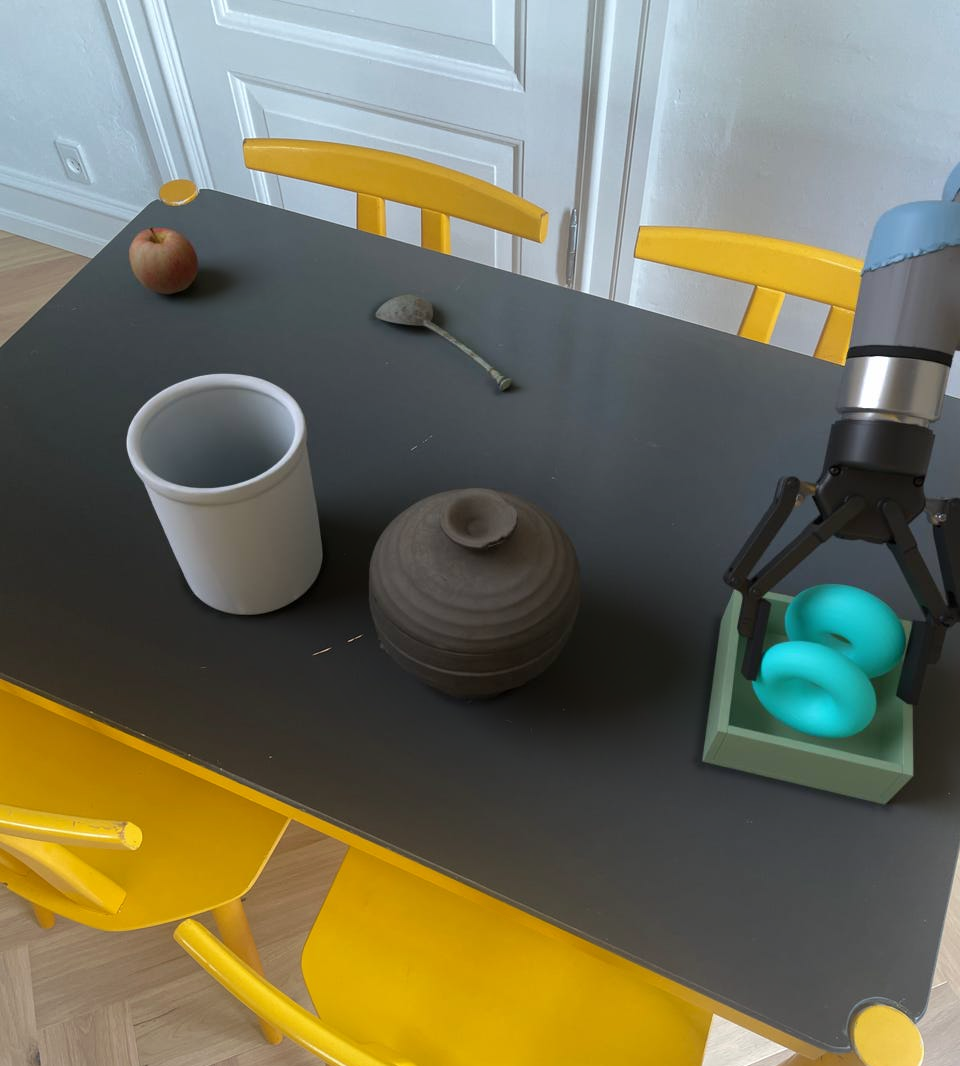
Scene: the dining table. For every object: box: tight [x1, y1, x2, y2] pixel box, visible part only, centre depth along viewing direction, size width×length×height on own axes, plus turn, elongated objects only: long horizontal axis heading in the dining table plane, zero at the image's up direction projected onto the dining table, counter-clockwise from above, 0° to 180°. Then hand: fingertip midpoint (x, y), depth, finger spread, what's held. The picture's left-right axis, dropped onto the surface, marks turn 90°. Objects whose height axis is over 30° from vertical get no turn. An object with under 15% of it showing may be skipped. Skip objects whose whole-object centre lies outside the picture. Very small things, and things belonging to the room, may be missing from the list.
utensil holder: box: [126, 373, 323, 616], centre depth 82 cm, size 15×15×18 cm
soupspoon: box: [375, 294, 512, 391], centre depth 107 cm, size 22×3×7 cm
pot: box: [368, 487, 581, 701], centre depth 76 cm, size 18×18×20 cm
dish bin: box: [702, 589, 914, 805], centre depth 78 cm, size 16×16×6 cm
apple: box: [128, 226, 199, 295], centre depth 111 cm, size 8×8×8 cm
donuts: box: [752, 583, 906, 738], centre depth 74 cm, size 10×10×10 cm
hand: (826, 689), depth 73 cm, fingers closed on donuts, 12 cm apart
